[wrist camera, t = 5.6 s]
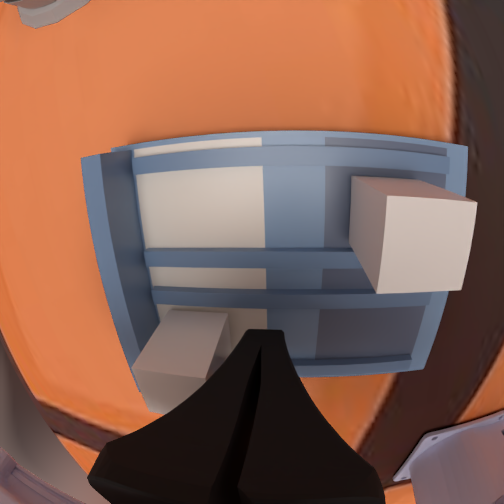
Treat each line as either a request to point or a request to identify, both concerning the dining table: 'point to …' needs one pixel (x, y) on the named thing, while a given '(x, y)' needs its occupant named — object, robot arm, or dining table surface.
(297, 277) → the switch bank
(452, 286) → the tab
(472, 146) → the dining table surface
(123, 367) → the dining table surface
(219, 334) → the tab
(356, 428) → the dining table surface
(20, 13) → the french press
